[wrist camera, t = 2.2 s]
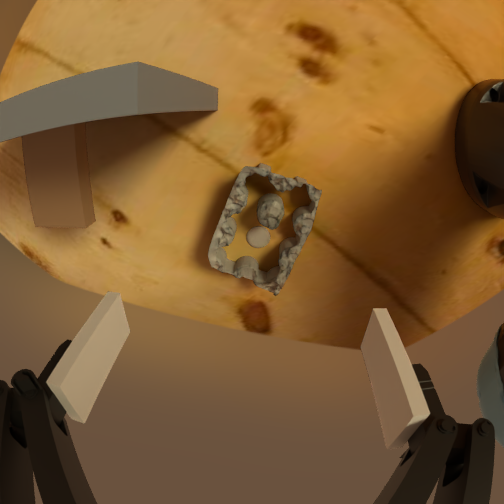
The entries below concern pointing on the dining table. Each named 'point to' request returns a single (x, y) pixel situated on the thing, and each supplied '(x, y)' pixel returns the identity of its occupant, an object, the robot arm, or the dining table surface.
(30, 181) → the wall board
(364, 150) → the dining table surface
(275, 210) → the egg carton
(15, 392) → the robot arm
